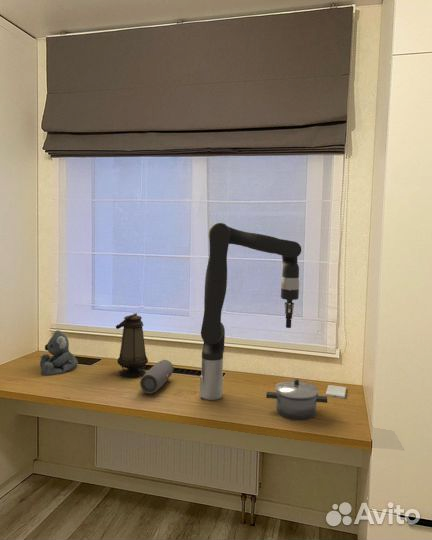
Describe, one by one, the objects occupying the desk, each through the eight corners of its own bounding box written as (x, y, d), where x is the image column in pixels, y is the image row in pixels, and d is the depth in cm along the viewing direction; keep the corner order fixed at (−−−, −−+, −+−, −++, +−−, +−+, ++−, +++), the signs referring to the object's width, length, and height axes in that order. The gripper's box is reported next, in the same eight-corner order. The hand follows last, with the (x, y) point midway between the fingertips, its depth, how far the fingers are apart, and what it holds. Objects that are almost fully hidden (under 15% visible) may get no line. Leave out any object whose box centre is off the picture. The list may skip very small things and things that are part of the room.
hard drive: (328, 384, 208) (325, 393, 196) (346, 387, 205) (344, 396, 194) (328, 388, 208) (325, 397, 196) (346, 390, 205) (344, 400, 194)
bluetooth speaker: (159, 397, 191) (159, 374, 190) (138, 395, 193) (138, 372, 192) (174, 379, 213) (174, 359, 212) (156, 378, 215) (156, 357, 214)
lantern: (139, 381, 209) (140, 318, 207) (110, 378, 213) (110, 316, 210) (154, 369, 227) (154, 311, 224) (126, 366, 231) (127, 309, 228)
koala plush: (39, 366, 228) (38, 329, 226) (75, 363, 235) (75, 326, 234) (41, 377, 212) (40, 337, 210) (80, 372, 220) (80, 334, 218)
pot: (265, 417, 173) (265, 397, 172) (266, 401, 188) (267, 383, 188) (328, 422, 169) (329, 402, 168) (324, 406, 185) (325, 387, 184)
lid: (274, 398, 171) (275, 389, 171) (275, 383, 189) (276, 375, 189) (319, 402, 168) (320, 393, 168) (316, 386, 186) (316, 378, 186)
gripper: (281, 285, 197) (279, 323, 198) (281, 289, 184) (279, 330, 185) (298, 286, 196) (296, 324, 197) (299, 290, 182) (297, 331, 184)
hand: (288, 327), depth 191 cm, fingers closed
